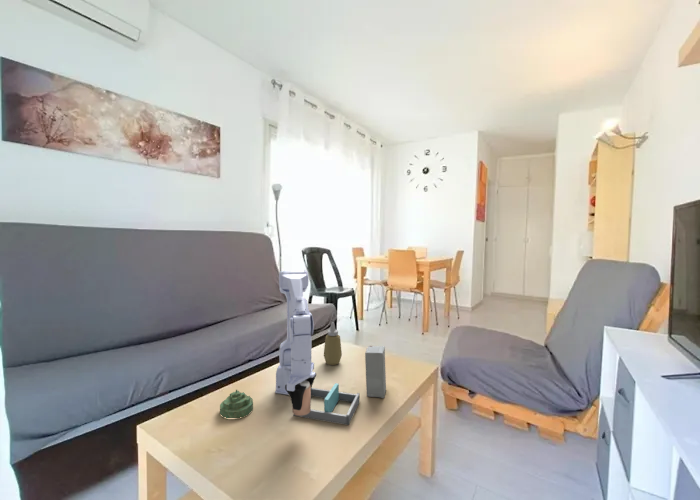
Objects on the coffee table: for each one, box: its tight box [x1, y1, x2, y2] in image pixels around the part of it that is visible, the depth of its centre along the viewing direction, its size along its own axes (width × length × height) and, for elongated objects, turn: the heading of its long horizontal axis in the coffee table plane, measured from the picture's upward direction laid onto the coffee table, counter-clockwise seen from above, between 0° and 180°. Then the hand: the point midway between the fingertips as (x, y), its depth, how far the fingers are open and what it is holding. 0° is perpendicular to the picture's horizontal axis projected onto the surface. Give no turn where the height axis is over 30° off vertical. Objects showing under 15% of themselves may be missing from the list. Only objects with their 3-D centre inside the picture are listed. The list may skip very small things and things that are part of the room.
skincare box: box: [364, 345, 387, 399], centre depth 114 cm, size 8×7×16 cm
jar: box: [291, 380, 312, 417], centre depth 91 cm, size 5×5×8 cm
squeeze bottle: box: [323, 321, 343, 366], centre depth 140 cm, size 8×8×18 cm
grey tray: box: [292, 387, 360, 426], centre depth 104 cm, size 18×14×3 cm
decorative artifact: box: [219, 389, 254, 419], centre depth 102 cm, size 10×7×10 cm
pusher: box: [323, 382, 340, 413], centre depth 103 cm, size 1×11×6 cm, turn 165°
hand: (301, 403), depth 91 cm, fingers closed on jar, 5 cm apart
